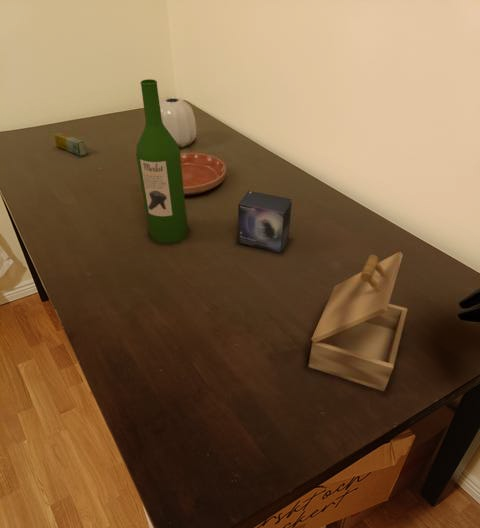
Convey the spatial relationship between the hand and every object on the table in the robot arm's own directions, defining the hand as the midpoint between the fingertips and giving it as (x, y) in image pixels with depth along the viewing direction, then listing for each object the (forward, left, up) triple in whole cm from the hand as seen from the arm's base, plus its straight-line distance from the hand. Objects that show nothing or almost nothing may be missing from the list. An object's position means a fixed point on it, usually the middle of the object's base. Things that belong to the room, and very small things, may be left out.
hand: (459, 311), depth 62 cm
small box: (+24, -40, -14) cm, 48 cm away
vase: (+47, -99, -14) cm, 110 cm away
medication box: (+80, -95, -14) cm, 125 cm away
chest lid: (+13, -6, -3) cm, 14 cm away
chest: (+11, -6, -14) cm, 19 cm away
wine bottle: (+46, -45, -14) cm, 66 cm away
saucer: (+43, -72, -14) cm, 85 cm away
